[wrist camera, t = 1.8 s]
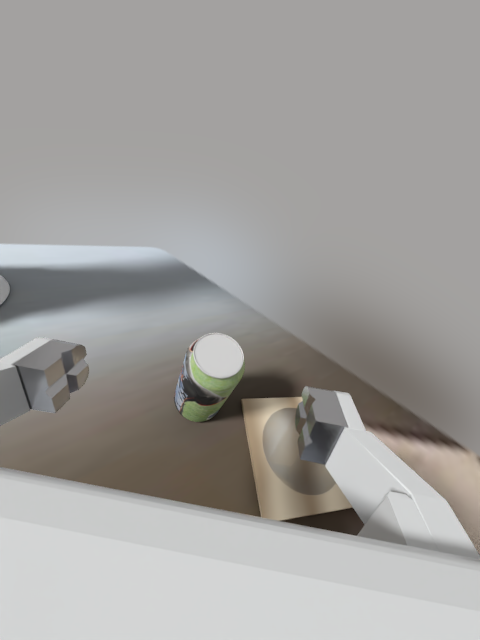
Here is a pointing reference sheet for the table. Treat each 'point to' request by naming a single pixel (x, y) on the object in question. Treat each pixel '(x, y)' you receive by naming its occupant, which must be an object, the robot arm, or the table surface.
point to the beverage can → (208, 376)
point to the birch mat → (286, 464)
